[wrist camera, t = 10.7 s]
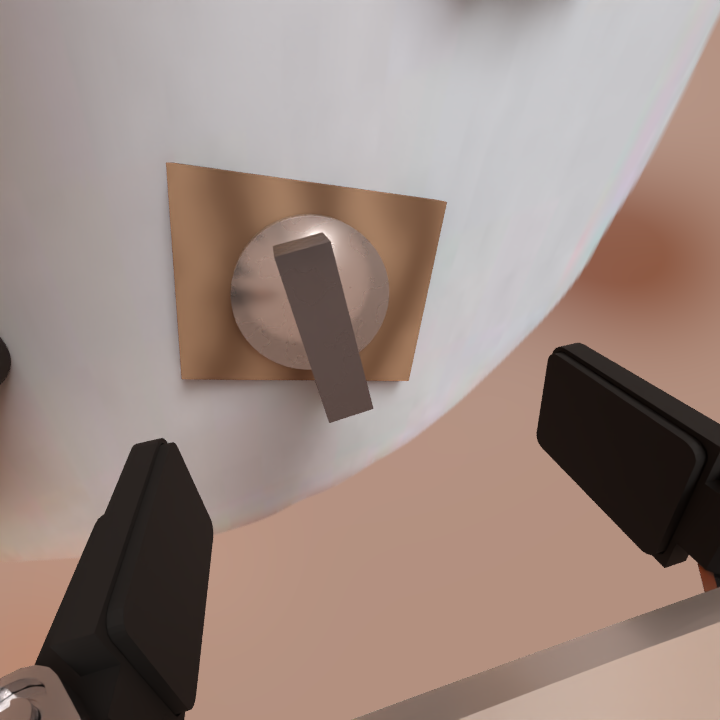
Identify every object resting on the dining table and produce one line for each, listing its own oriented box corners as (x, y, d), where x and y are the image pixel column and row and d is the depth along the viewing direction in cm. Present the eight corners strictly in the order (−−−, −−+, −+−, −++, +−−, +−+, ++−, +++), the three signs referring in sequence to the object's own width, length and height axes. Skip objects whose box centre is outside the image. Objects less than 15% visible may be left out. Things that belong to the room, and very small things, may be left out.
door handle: (205, 238, 27) (181, 272, 19) (367, 195, 28) (411, 208, 20) (271, 399, 34) (275, 474, 26) (399, 358, 35) (442, 419, 27)
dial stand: (186, 371, 34) (181, 383, 32) (172, 162, 27) (165, 162, 25) (401, 373, 39) (408, 384, 37) (436, 199, 32) (448, 202, 30)
